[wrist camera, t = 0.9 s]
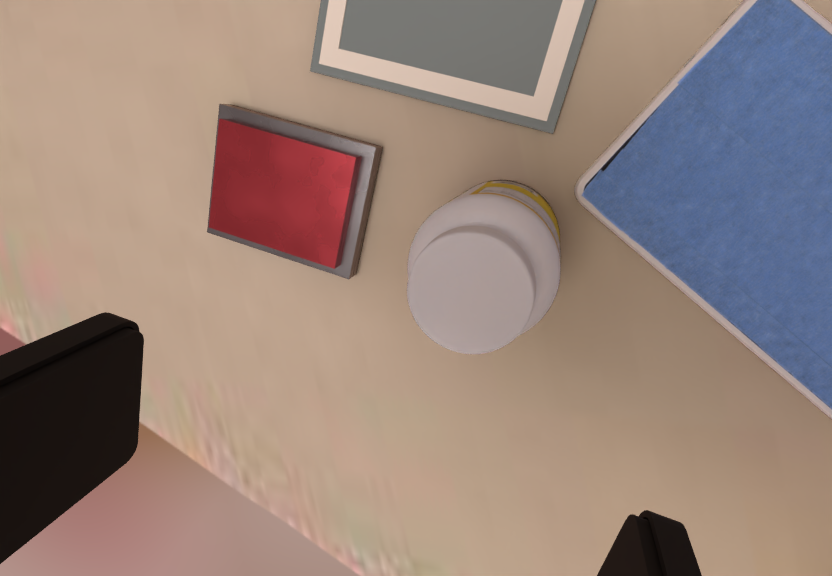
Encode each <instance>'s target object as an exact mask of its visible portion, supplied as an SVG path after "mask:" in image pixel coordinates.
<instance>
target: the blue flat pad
mask: <svg viewBox="0 0 832 576" xmlns="http://www.w3.org/2000/svg"><path fill="white" fill-rule="evenodd" d="M574 193H575V196H576V199H577V200H578V202H579V203H580V204H581V205H582V206H583V207H584V208H585V209H587V210H588V211H589V212H590V213H591V214H592V215H594V216H595V217H596V218H597V219H598V220H599V221H600V222H602V223H603V224H604V225H605V226H606V227H607V228H609V229H610V230H611V231H612V232H613V233H614V234H616V235H617V236H618V237H619V238H620V239H621V240H623V241H624V242H625V243H626V244H627V245H629V246H630V247H631V248H632V249H633V250H634V251H636V252H637V253H638V254H639V255H640V256H641V257H643V258H644V259H645V260H646V261H647V262H648V263H650V264H651V265H652V266H653V267H654V268H655V269H657V270H658V271H659V272H660V273H661V274H662V275H663V276H665V277H666V278H667V279H668V280H669V281H670V282H672V283H673V284H674V285H675V286H676V287H678V288H679V289H680V290H681V291H682V292H683V293H684V294H686V295H687V296H688V297H689V298H690V299H691V300H693V301H694V302H695V303H696V304H697V305H698V306H700V307H701V308H702V309H703V310H704V311H705V312H707V313H708V314H709V315H710V316H711V317H712V318H714V319H715V320H716V321H717V322H718V323H719V324H720V325H722V326H723V327H724V328H725V329H726V330H727V331H729V332H730V333H731V334H732V335H733V336H735V337H736V338H737V339H738V340H739V341H740V342H741V343H743V344H744V345H745V346H746V347H747V348H748V349H750V350H751V351H752V352H753V353H754V354H756V355H757V356H758V357H759V358H760V359H761V360H763V361H764V362H765V363H766V364H767V365H768V366H770V367H771V368H772V369H773V370H774V371H776V372H777V373H778V374H779V375H780V376H782V377H783V378H784V379H785V380H786V381H787V382H788V383H790V384H791V385H792V386H793V387H794V388H795V389H797V390H798V391H799V392H800V393H801V394H803V395H804V396H805V397H806V398H807V399H808V400H810V401H811V402H812V403H813V404H814V405H815V406H817V407H818V408H819V409H820V410H821V411H822V412H824V413H825V414H826V415H827V416H828V417H829V418H831V419H832V24H831V23H830V22H829V21H828V20H827V19H826V18H824V17H823V16H822V15H821V14H819V13H818V12H816V11H815V10H814V9H813V8H811V7H810V6H809V5H808V4H807V3H805V2H804V1H803V0H743V1H742V2H741V3H740V5H739V6H738V7H737V8H736V9H735V10H734V11H733V12H732V13H731V15H730V16H729V17H728V19H727V21H726V22H725V23H724V24H723V25H722V26H720V27H719V28H718V29H717V30H716V31H715V32H714V33H713V34H712V35H711V36H710V37H709V38H708V39H707V41H706V42H705V43H704V44H703V45H702V46H701V47H700V48H699V49H698V50H697V51H696V52H695V54H694V55H693V56H692V57H691V58H690V59H689V60H688V62H687V63H686V64H685V65H684V66H683V67H682V68H681V69H680V70H679V71H678V72H677V73H676V74H675V75H674V77H673V78H672V79H671V80H670V81H669V82H668V83H667V84H666V85H665V86H664V87H663V88H662V89H661V91H660V92H659V93H658V94H657V95H656V96H655V97H654V98H653V99H652V100H651V101H650V102H649V104H648V105H647V106H646V107H645V108H644V109H643V110H642V111H641V112H640V113H639V114H638V115H637V117H636V118H635V119H634V120H633V121H632V122H631V123H630V124H629V125H628V126H627V127H626V128H625V130H624V131H623V132H622V133H621V134H620V135H619V136H618V137H617V138H616V139H615V140H614V141H613V142H612V144H611V145H610V146H609V147H608V148H607V149H606V150H605V151H604V152H603V153H602V154H601V155H600V156H599V157H598V158H597V159H596V160H595V162H594V163H593V164H592V165H591V166H590V167H589V168H588V169H587V170H586V171H585V172H584V173H583V174H582V175H581V176H580V178H579V179H578V181H577V183H576V185H575V188H574Z"/></svg>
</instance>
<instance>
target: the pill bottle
mask: <svg viewBox="0 0 832 576" xmlns="http://www.w3.org/2000/svg"><path fill="white" fill-rule="evenodd" d="M560 273H561V261H560V233H559V227H558V223H557V219H556V217H555V214H554V212H553V210H552V208H551V207H550V205H549V204H548V202H547V201H546V200H545V199H544V198H543V197H542V196H541V195H540V194H539V193H537V192H536V191H535V190H533V189H531V188H530V187H528V186H526V185H523V184H521V183H518V182H514V181H508V180H494V181H488V182H485V183H481V184H479V185H476V186H474V187H472V188H470V189H469V190H467V191H466V192H464V193H463V194H461V195H459V196H457V197H456V198H454V199H452V200H451V201H449V202H448V203H446V204H444V205H443V206H441V207H440V208H438V209H437V210H435V211H434V212H433V213H432V214H431V215H430V216H429V217H428V218H427V219H426V220H425V221H424V222H423V224H422V225H421V227H420V228H419V229H418V231H417V233H416V235H415V237H414V239H413V242H412V244H411V248H410V252H409V257H408V283H407V296H408V303H409V307H410V310H411V312H412V315H413V317H414V319H415V321H416V323H417V324H418V326H419V327H420V328H421V330H422V331H423V332H424V333H425V334H426V335H427V336H428V337H429V338H430V339H432V340H433V341H434V342H436V343H437V344H439V345H441V346H442V347H444V348H447V349H449V350H452V351H455V352H459V353H464V354H483V353H489V352H492V351H495V350H498V349H500V348H502V347H504V346H506V345H507V344H509V343H510V342H512V341H513V340H514V339H515V338H516V337H517V336H519V335H521V334H523V333H524V332H526V331H528V330H529V329H531V328H532V327H533V326H535V325H536V324H537V323H538V322H539V321H540V320H541V319H542V318H543V317H544V315H545V314H546V313H547V311H548V310H549V308H550V307H551V305H552V303H553V301H554V299H555V296H556V293H557V291H558V286H559V281H560Z"/></svg>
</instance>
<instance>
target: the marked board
mask: <svg viewBox="0 0 832 576" xmlns="http://www.w3.org/2000/svg"><path fill="white" fill-rule="evenodd" d="M595 2H596V0H321V3H320V10H319V17H318V23H317V30H316V36H315V43H314V49H313V56H312V63H311V69H310V71H311V72H315V73H319V74H323V75H327V76H331V77H335V78H339V79H342V80H346V81H350V82H354V83H358V84H362V85H366V86H370V87H374V88H377V89H381V90H385V91H389V92H393V93H397V94H401V95H405V96H409V97H412V98H416V99H420V100H424V101H428V102H432V103H436V104H440V105H443V106H447V107H451V108H455V109H459V110H463V111H467V112H471V113H475V114H478V115H482V116H486V117H490V118H494V119H498V120H502V121H506V122H510V123H513V124H517V125H521V126H525V127H529V128H533V129H537V130H541V131H544V132H548V133H552V134H553V132H554V129H555V126H556V123H557V120H558V117H559V114H560V111H561V107H562V104H563V101H564V98H565V95H566V92H567V89H568V86H569V83H570V79H571V76H572V73H573V70H574V67H575V64H576V61H577V58H578V55H579V51H580V48H581V45H582V42H583V39H584V36H585V33H586V30H587V27H588V23H589V20H590V17H591V14H592V11H593V8H594V5H595Z"/></svg>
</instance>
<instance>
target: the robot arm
mask: <svg viewBox="0 0 832 576" xmlns="http://www.w3.org/2000/svg"><path fill="white" fill-rule="evenodd" d="M143 345H144V338H143V335H142V334H141V333H140V332H139V327H138V325H137V324H136V323H135V322H133V321H130V320H128V319H125V318H122V317H119V316H117V315H114V314H111V313H106V312H105V313H101V314H98V315H96V316H94V317H91V318H89V319H86V320H84V321H82V322H79V323H77V324H75V325H72V326H70V327H67V328H65V329H63V330H60V331H58V332H56V333H53V334H51V335H48V336H46V337H44V338H41V339H39V340H37V341H34V342H32V343H29V344H27V345H25V346H22V347H20V348H18V349H15V350H13V351H11V352H8V353H6V354H4V355H1V356H0V564H1V563H2V562H3V561H4V560H6V559H7V558H8V557H9V556H11V555H12V554H13V553H14V552H16V551H17V550H18V549H19V548H21V547H22V546H23V545H24V544H26V543H27V542H28V541H29V540H30V539H32V538H33V537H34V536H36V535H37V534H38V533H39V532H41V531H42V530H43V529H44V528H46V527H47V526H48V525H49V524H51V523H52V522H53V521H54V520H56V519H57V518H58V517H59V516H60V515H62V514H63V513H64V512H65V511H67V510H68V509H69V508H71V507H72V506H73V505H74V504H75V503H77V502H78V501H79V500H81V499H82V498H83V497H84V496H86V495H87V494H88V493H89V492H90V491H92V490H93V489H94V488H96V487H97V486H98V485H99V484H101V483H102V482H103V481H104V480H106V479H107V478H108V477H109V476H111V475H112V474H113V473H114V472H115V471H117V470H118V469H119V468H121V467H122V466H123V465H124V464H126V463H127V462H128V461H129V460H130V458H131V457H132V456H133V454H134V452H135V451H136V448H137V444H138V430H139V429H138V428H139V413H140V396H141V379H142V362H143ZM597 576H702V575H701V572H700V569H699V566H698V563H697V560H696V557H695V555H694V552H693V549H692V546H691V543H690V540H689V537H688V534H687V531H686V529H685V527H684V525H683V524H682V523H680V522H678V521H675V520H672V519H670V518H667V517H664V516H661V515H659V514H656V513H653V512H650V511H648V510H646V511H643V512H642V513H641V514H640V515H639V517H638V516H635V515H629V516H628V517H627V519H626V521H625V523H624V524H623V526H622V528H621V530H620V532H619V534H618V536H617V538H616V540H615V542H614V544H613V546H612V548H611V550H610V552H609V553H608V555H607V557H606V559H605V561H604V563H603V565H602V567H601V569H600V571H599V573H598V575H597Z"/></svg>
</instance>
